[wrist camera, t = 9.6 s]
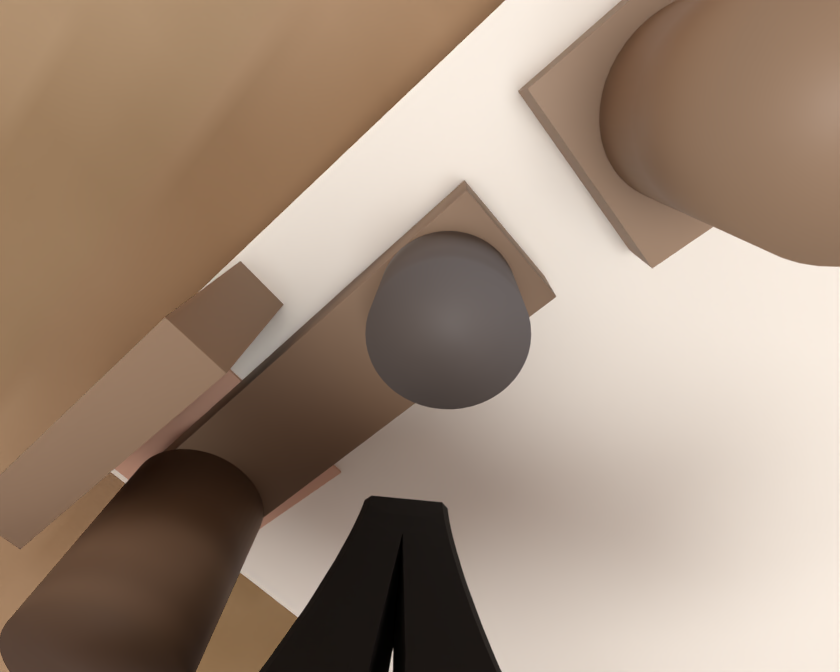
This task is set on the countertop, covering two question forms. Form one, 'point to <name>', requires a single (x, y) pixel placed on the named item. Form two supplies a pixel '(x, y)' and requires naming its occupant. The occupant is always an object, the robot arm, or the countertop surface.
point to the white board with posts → (567, 341)
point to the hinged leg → (283, 444)
